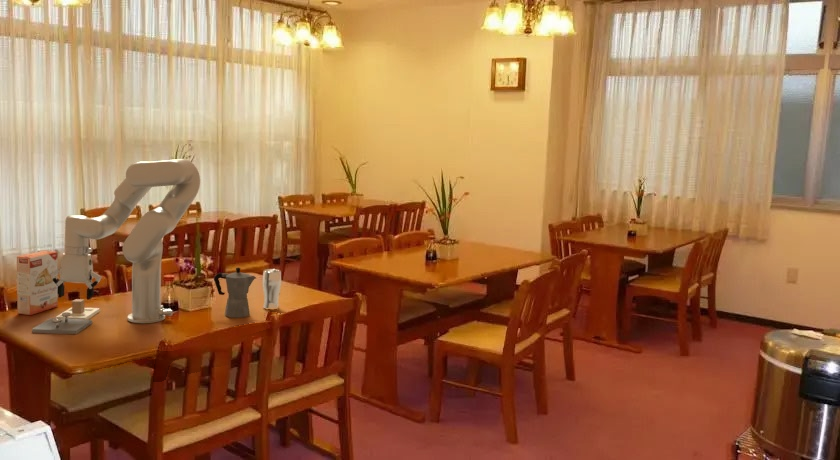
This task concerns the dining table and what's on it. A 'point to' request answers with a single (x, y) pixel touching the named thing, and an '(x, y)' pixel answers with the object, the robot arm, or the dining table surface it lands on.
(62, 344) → the dining table surface
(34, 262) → the cracker box
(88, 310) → the panel
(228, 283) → the coffeepot
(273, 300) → the beer glass
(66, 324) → the board
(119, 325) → the dining table surface
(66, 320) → the bosses
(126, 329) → the dining table surface
